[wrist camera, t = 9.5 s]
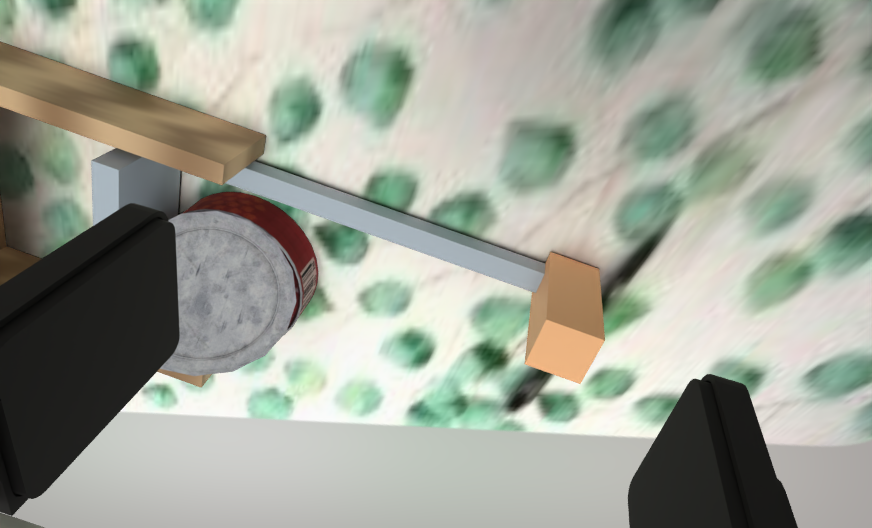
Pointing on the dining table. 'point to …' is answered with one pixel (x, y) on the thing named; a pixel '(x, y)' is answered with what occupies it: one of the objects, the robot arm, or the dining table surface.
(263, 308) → the canned food
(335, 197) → the pull rod
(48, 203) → the dining table surface
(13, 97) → the shelf lane
